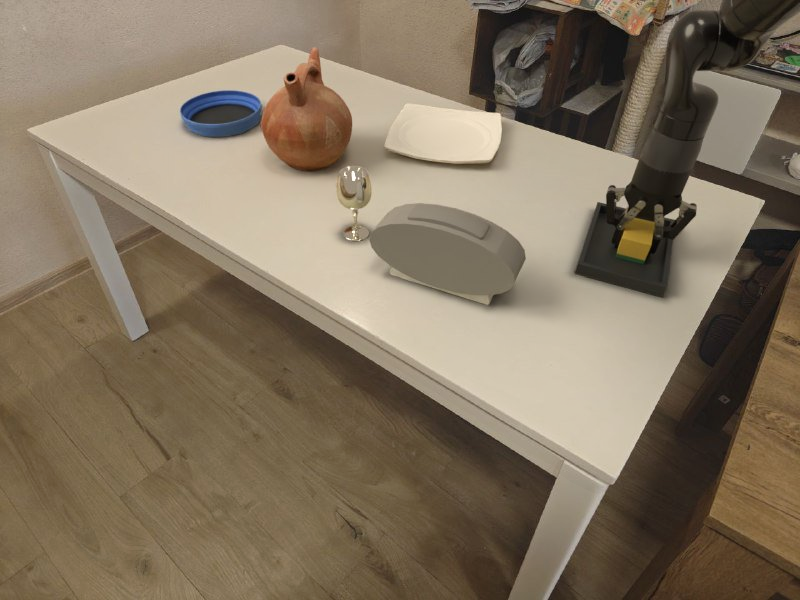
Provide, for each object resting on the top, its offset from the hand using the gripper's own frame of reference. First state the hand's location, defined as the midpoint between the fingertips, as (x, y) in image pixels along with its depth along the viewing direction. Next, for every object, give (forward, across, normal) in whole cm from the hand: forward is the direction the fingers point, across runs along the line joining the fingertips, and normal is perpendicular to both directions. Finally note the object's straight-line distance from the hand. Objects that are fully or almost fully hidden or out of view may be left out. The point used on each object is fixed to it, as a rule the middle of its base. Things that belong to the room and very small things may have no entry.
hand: (632, 248), depth 92 cm
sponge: (0, 0, 0) cm, 0 cm away
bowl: (+1, -93, +11) cm, 94 cm away
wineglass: (+1, -45, -15) cm, 47 cm away
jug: (+1, -66, +5) cm, 66 cm away
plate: (+1, -43, +24) cm, 49 cm away
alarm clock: (+1, -27, -20) cm, 33 cm away
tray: (+1, -1, 0) cm, 1 cm away
